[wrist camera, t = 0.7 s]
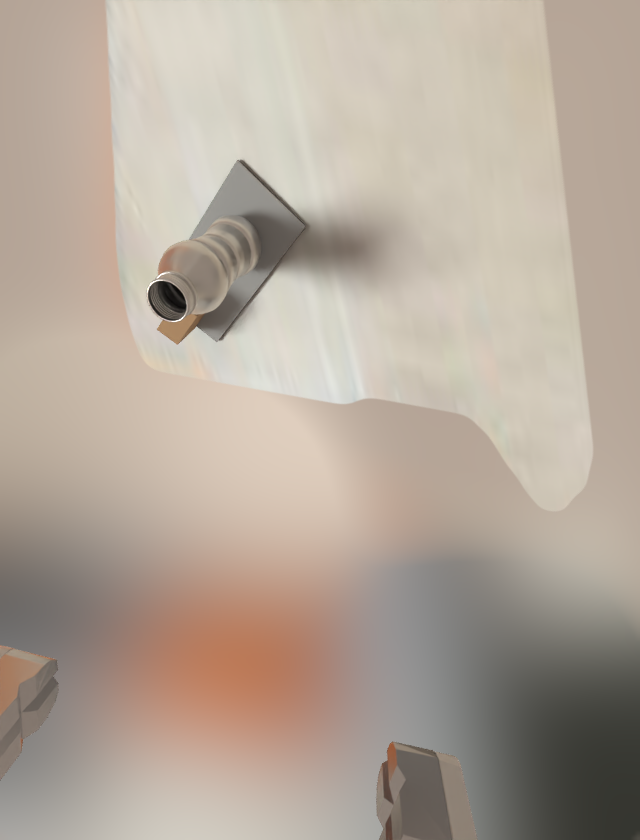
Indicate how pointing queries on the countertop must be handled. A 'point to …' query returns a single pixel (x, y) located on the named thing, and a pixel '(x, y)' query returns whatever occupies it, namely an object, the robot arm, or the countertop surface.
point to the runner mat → (276, 236)
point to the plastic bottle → (203, 269)
